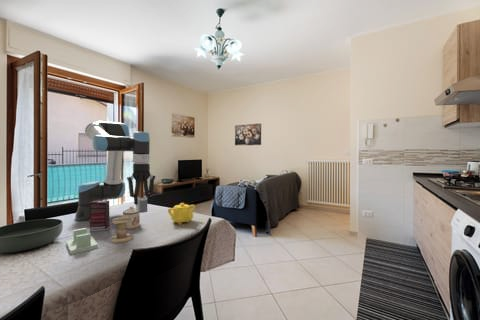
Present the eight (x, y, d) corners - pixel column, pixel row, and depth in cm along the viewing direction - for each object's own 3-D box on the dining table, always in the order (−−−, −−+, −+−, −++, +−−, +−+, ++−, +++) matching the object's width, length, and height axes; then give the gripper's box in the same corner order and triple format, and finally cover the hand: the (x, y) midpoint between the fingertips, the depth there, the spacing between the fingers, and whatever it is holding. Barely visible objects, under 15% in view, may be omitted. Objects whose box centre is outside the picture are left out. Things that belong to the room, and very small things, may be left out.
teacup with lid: (134, 229, 126) (134, 208, 126) (119, 228, 127) (119, 208, 126) (145, 222, 138) (145, 203, 138) (131, 222, 139) (131, 203, 138)
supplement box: (110, 227, 128) (109, 200, 128) (106, 230, 123) (105, 202, 123) (93, 228, 127) (93, 200, 126) (89, 231, 122) (88, 202, 122)
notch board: (66, 244, 105) (66, 230, 104) (91, 238, 112) (91, 225, 111) (70, 254, 94) (70, 239, 94) (97, 247, 101) (97, 233, 101)
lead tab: (136, 210, 112) (136, 198, 112) (142, 209, 114) (142, 198, 114) (141, 212, 108) (140, 200, 108) (147, 211, 110) (147, 199, 110)
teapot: (166, 225, 133) (166, 206, 132) (174, 218, 147) (174, 200, 147) (190, 226, 132) (189, 206, 132) (195, 219, 146) (195, 201, 146)
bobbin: (107, 238, 112) (107, 218, 112) (129, 233, 119) (129, 215, 118) (113, 244, 105) (113, 223, 104) (135, 239, 112) (135, 219, 111)
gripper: (126, 163, 102) (126, 214, 103) (160, 163, 113) (160, 208, 114) (121, 163, 108) (121, 211, 108) (154, 162, 119) (154, 206, 119)
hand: (141, 210), depth 111 cm, fingers closed on lead tab, 3 cm apart
